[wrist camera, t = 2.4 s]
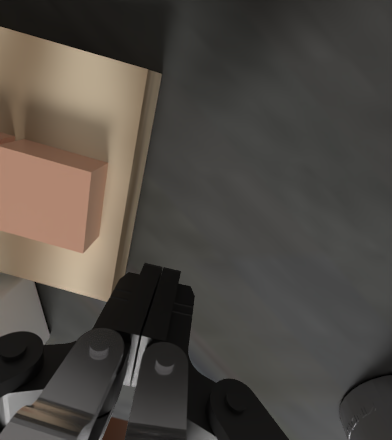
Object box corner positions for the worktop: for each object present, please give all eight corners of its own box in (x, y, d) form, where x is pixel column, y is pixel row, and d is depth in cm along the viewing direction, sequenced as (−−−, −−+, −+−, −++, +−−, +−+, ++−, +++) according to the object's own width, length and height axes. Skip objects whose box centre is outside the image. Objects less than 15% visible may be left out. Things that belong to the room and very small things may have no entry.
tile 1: (108, 162, 15) (91, 172, 13) (99, 236, 16) (83, 253, 15) (24, 139, 14) (-5, 145, 13) (24, 215, 16) (-1, 230, 15)
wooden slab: (162, 73, 15) (148, 69, 13) (124, 275, 21) (109, 302, 18) (-34, 17, 15) (-91, 0, 12) (-17, 236, 21) (-53, 257, 18)
